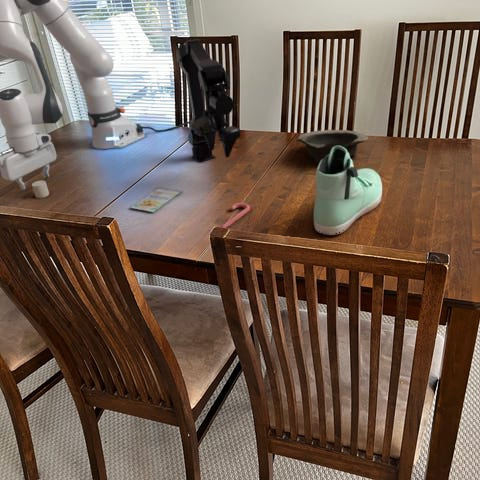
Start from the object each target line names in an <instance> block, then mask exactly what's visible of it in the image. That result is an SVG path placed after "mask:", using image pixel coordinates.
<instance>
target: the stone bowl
mask: <svg viewBox="0 0 480 480" xmlns="http://www.w3.org/2000/svg"><path fill="white" fill-rule="evenodd" d="M368 139H369V137H368V136H367V135H366V134H365V133H363V132H359V131H356V130H347V129H345V130H343V129H325V130H314V131H309V132H305V133H302V134H300V135H299V136H298V138H297V139H296V141H297V142H300V143H301V144H304V145H305V148H306V152H307V153H308V155H309V156H311V157H312V158H313V159H314V162H315V163H316V164H317V165H319V163H320V161H321V160H322V159H324V158H325V157H326V156H327V155H329V154H330V152H331V149H332V148H333V147H334V146H342V147H344V148H345V149H346V150H347V152H348V153H349V156H350V159H354V158H355V157H356V155H357V154H356V153H357V147H358V145H359V144H361V143H364V142H365V141H368Z"/></svg>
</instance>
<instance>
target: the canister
mask: <svg viewBox="0 0 480 480" xmlns="http://www.w3.org/2000/svg"><path fill="white" fill-rule="evenodd" d="M31 187H32V190H33V193H34V196H35V198H37V199H42V198H46V197H48V196H49V195H50V191H49V188H48V185H47V181H46V180H38V181H37V180H36V181H34V182H32V184H31Z"/></svg>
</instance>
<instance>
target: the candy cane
mask: <svg viewBox="0 0 480 480" xmlns="http://www.w3.org/2000/svg"><path fill="white" fill-rule="evenodd" d="M238 208H239V209H240V208H244V209H242V210H241V211H240V212H238V213H237V214H235V215H234V216H233V217H232V218H230V219H229V220H227V221H226V222H224V223H223V224H222V225H221V226H220V228H221V227H226V229H227V228H229V227H230V226H231V225H233V224H234V223H236V222H237V221H238V220H240V219H241V218H242V217H244V216H245V215H246V214H248V213H249V212H250V211H251V206H250V204H248V203H246V202H237V203H234V204H231V206H230V207H229V209H230V211H232V212H233V211H235V210H236V209H238Z"/></svg>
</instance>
